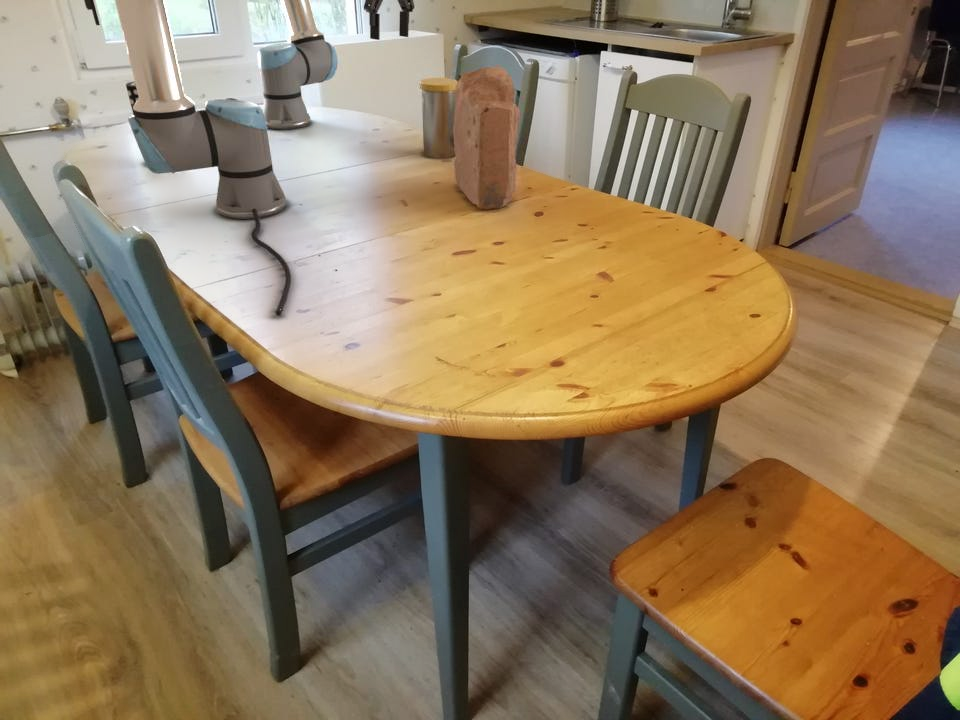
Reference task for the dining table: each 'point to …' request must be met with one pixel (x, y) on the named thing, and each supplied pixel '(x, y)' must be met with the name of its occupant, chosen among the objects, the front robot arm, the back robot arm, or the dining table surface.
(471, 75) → the stone
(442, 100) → the jar
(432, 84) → the lid
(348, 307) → the dining table surface
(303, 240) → the dining table surface
